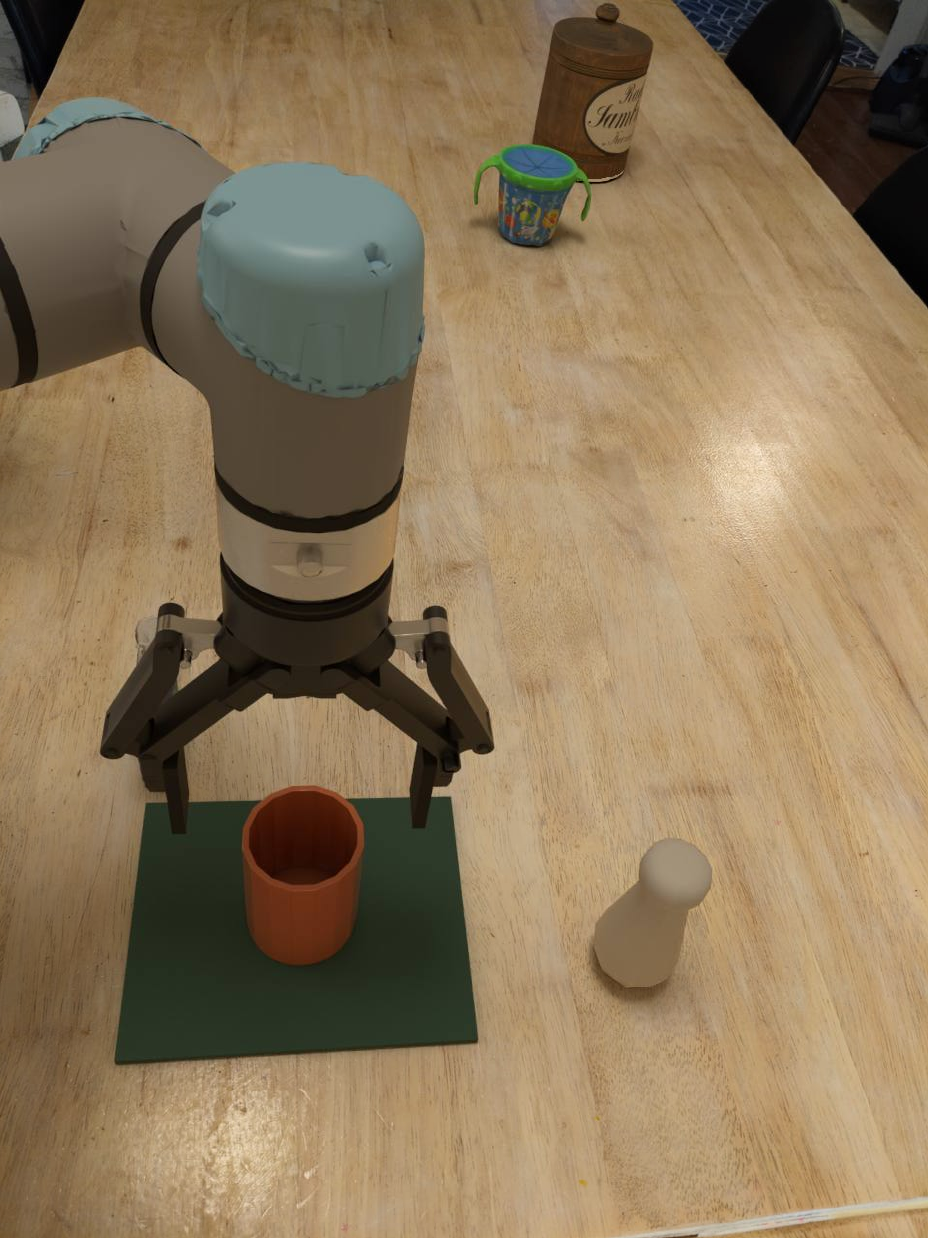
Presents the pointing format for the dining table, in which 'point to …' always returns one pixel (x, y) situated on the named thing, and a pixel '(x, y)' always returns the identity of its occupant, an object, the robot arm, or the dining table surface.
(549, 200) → the snack cup
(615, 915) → the salt shaker
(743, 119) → the dining table surface
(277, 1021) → the mat
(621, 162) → the wooden container
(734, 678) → the dining table surface
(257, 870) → the cup
